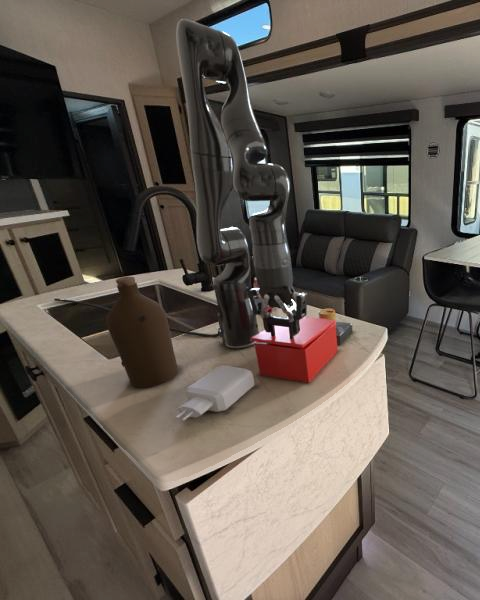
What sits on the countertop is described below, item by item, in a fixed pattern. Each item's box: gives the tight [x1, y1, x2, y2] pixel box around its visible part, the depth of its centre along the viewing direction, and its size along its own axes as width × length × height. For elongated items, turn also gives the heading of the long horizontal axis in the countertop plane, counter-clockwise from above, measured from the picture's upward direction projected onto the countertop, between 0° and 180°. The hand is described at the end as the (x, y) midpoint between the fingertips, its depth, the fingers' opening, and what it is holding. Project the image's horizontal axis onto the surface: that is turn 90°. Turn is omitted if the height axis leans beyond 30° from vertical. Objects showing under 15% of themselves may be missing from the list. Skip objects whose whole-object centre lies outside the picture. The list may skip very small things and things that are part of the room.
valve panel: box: [336, 321, 353, 346], centre depth 98 cm, size 12×9×3 cm
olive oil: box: [106, 276, 179, 389], centre depth 73 cm, size 11×11×25 cm
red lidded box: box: [253, 323, 339, 384], centre depth 82 cm, size 16×14×9 cm
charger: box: [174, 364, 255, 421], centre depth 67 cm, size 5×9×15 cm
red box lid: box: [251, 316, 335, 348], centre depth 79 cm, size 16×14×6 cm
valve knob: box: [318, 307, 337, 325], centre depth 96 cm, size 5×5×6 cm
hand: (282, 332), depth 75 cm, fingers closed on red box lid, 6 cm apart
